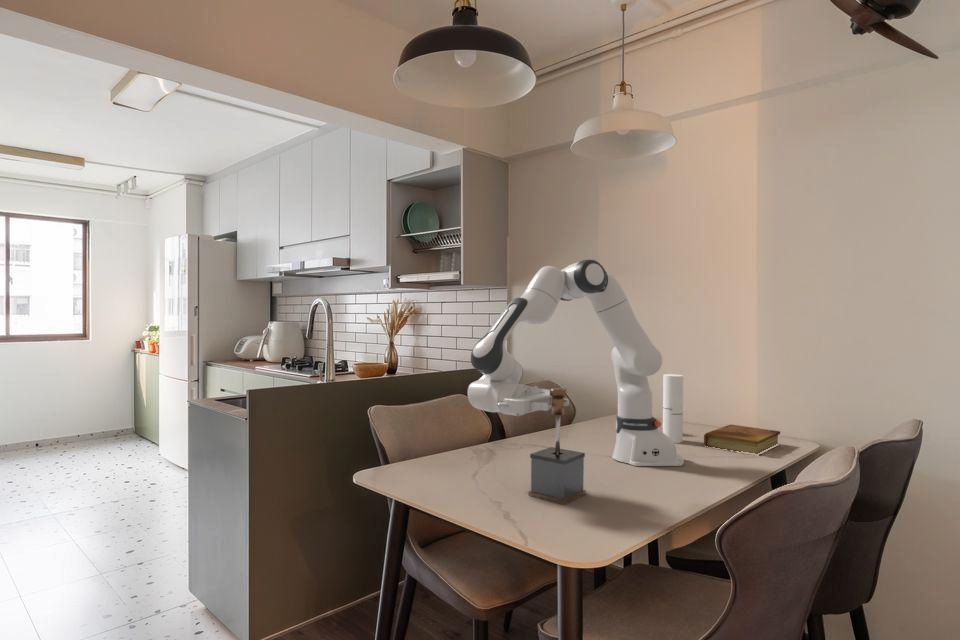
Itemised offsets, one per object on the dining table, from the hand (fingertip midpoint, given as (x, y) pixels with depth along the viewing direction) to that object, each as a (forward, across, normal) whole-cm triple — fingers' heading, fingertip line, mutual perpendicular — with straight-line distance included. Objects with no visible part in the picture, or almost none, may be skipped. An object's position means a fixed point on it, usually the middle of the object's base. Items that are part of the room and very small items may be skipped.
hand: (558, 404), depth 151 cm
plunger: (0, 0, +15) cm, 15 cm away
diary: (+22, +92, +25) cm, 98 cm away
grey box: (0, 0, +24) cm, 24 cm away
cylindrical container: (-1, +83, +24) cm, 86 cm away
